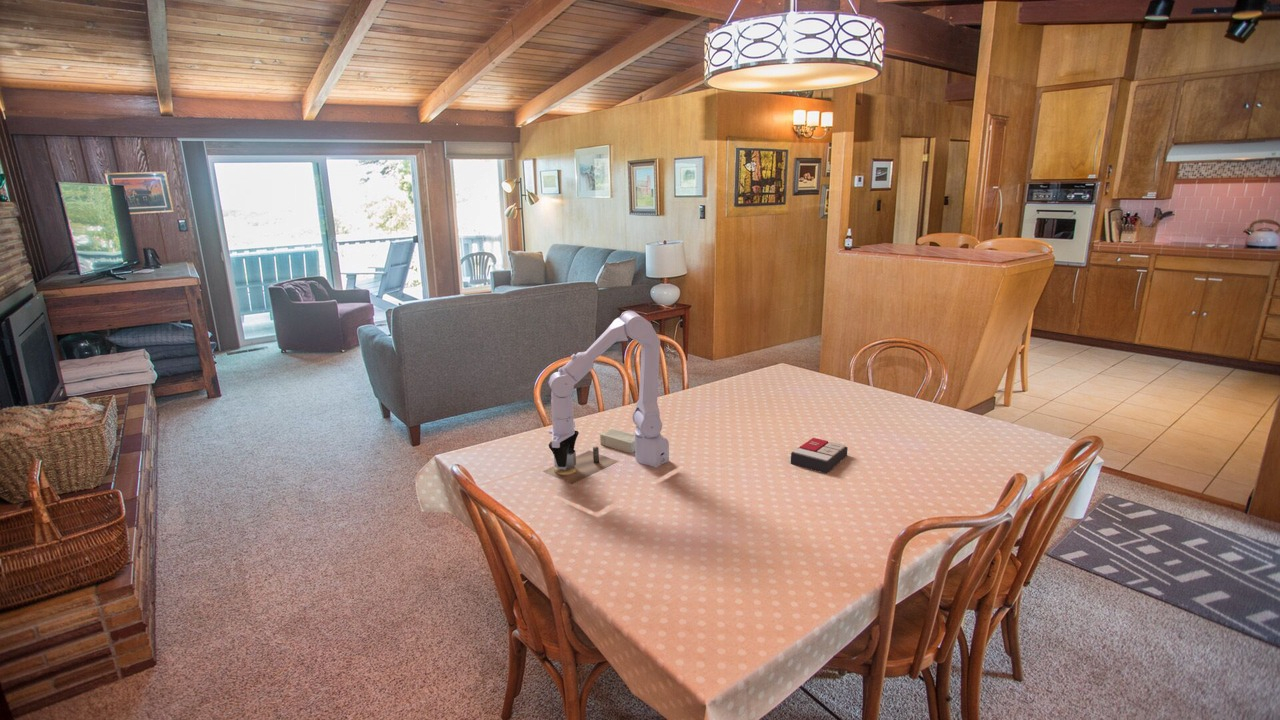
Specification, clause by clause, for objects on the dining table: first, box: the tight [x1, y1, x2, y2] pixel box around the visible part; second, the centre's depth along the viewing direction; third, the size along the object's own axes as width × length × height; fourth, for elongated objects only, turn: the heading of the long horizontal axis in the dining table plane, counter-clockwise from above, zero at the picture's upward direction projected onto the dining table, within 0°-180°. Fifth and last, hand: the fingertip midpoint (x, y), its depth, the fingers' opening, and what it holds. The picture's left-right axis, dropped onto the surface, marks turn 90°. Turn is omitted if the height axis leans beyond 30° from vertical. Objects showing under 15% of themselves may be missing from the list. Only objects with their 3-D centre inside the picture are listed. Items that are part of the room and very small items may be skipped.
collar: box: [553, 448, 577, 470], centre depth 172 cm, size 6×6×4 cm
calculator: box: [790, 437, 849, 474], centre depth 179 cm, size 11×4×15 cm
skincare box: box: [599, 428, 635, 454], centre depth 189 cm, size 6×4×12 cm
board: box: [542, 446, 619, 485], centre depth 175 cm, size 12×18×6 cm, turn 139°
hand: (565, 461), depth 173 cm, fingers open, 6 cm apart
